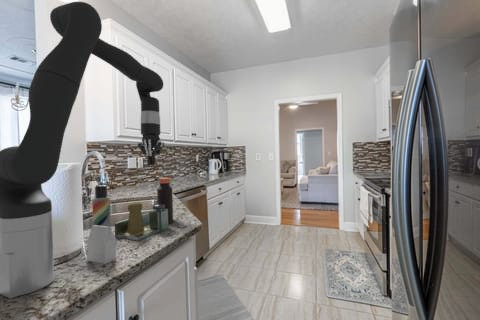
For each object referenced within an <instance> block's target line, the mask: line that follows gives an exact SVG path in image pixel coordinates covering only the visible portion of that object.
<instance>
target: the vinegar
mask: <svg viewBox="0 0 480 320" xmlns="http://www.w3.org/2000/svg"><path fill="white" fill-rule="evenodd" d="M158 184H159V186H158V187H157V189H156V190H157V191H156V193H157V196H156V198H157V203H156V204H165V208H163V209H168V223H169V221H170V222H172V221H173V220H174V211H173V210H174V209H173V208H174V206H173V205H174V204H173V203H174V201H173V188H172V186H171V185H170V184H171V178H170V177H159V178H158Z"/></svg>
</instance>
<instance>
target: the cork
mask: <svg viewBox="0 0 480 320" xmlns="http://www.w3.org/2000/svg"><path fill="white" fill-rule="evenodd" d="M127 210H128V212H129V213H128V219H129V221H128V229H127V233H139V232H142V231H144V226H143V220H142V215H143V214H142V210H143V204H142V203H141V202H138V201H137V202H136V201H135V202H134V201H133V202H130V203H129V204H128V205H127Z"/></svg>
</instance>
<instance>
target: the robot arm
mask: <svg viewBox="0 0 480 320" xmlns="http://www.w3.org/2000/svg"><path fill="white" fill-rule="evenodd" d="M49 15H50V16H49V19H50V23H51V25H52V27H53V29H54V30H55V32H57V34H59V36H61V39H60V41H59V42H58V43H57V45H55V46H54V48H53V49H52V50H51V51H50V52H49V53H48V54H47V55H46V56H45V58H43V60H42V61H41V63H39V65H38V66H37V68H36V70H35V73H34V75H33V78H32V80H31V83H30V86H29V89H28V106H29V114H30V115H29V123H28V125H27V129H26V132H25V134H24V136H23V138H22V139H21V142H20V144H19V145H16V146H9V147H6V148H3V149H1V150H0V295H1V296H3V297H6V298H8V299H10V300H11V299H13V298H17V297H19V296H24V295H27V294H31V293H34V292H36V291H38V290H42V289H44V288H45V287H47V286H48V285H50V284H51V283H52V282H53V281H54V280H55V266H54V265H55V263H54V261H55V259H54V239H53V236H54V235H53V207H52V206H53V205H52V199H50V198H49V197H48V196H47V195H46V194H45V192H44V191H43V187H42V185H43V184H46V183H47V182H49V181H50V180H51V179H52V178H53V176H55V173H56V171H57V169H58V166H59V162H60V156H61V152H62V151H61V150H62V148H63V147H62V146H63V140H64V135H65V132H66V130H67V129H66V128H67V126H68V123H69V120H70V116H71V113H72V111H73V106H75V105H74V104H75V102H76V100H77V96H78V94H79V92H80V91H79V90H80V87H81V84H82V80H83V77H84V74H85V72H86V68H87V65H88V62H89V60H90V57H91V55H93V56H95V57H97V58H98V59H100V60H102V61H104V62H106V64H108V65H110V66H111V67H113V68H114V69H116V70H117V71H119V72H120V73H121V74H123V75H124V76H125V77H127V78H128V79H129V80H131V81H133V82H135V86H136V87H135V88H136V90H137V93H138V96H139V101H140V134H141V136H142V137H141V142H138V143H137V146H138V148H139V149H140V151H141V153H142V155H144V156H146V157H147V159H146V160H147V161H146V162H147V165H148V166H149V167H150V166H151V167H152V166H153V167H154V166H155V164H156V156H158V155H160V153H161V151H162V149H163V148H164V146H165V142H162V141H161V137H160V135H161V115H160V102H159V101H160V100H159V99H158V98H156V97H152V96H151V93H155V92H161V90H162V89H163V88H164V81H163V78H162V77H161V76H160V74H158V73H157V72H156V71H154V70H152V69H151V68H149V67H147V66H146V65H145V66H144V65H143V64H141V63H140V62H139V61H138V59H136V58H135V57H134V56H132V55H131V54H130V53H128V51H125V50H124V49H121V48H120V47H117V46H115V45H113V44H110V43H109V42H107V41H105V40H103V39H101V38H100V36H101V34H102V30H103V29H102V27H103V24H102V20H101V16H100V14H99V11H97V9H96V8H95V7H94V6H93V5H91V4H89V3H87V2H85V1H71V2H70V3H69V2H68V3H65V4H62V5H59V6H57V7H54V8H53V9H52V10H51V12H50V14H49Z"/></svg>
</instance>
